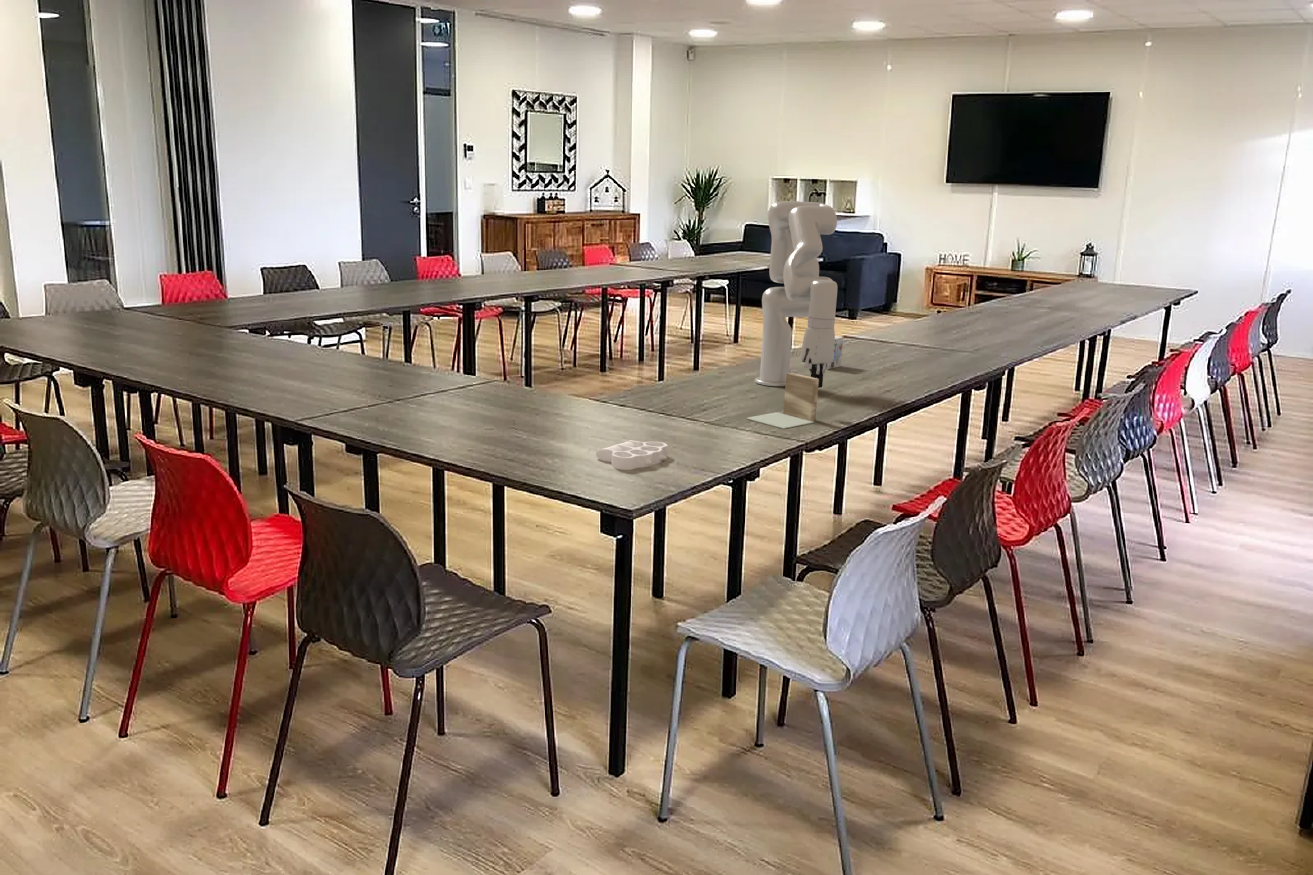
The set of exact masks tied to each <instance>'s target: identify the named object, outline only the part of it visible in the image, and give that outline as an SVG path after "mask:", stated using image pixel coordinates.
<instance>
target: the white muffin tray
mask: <svg viewBox="0 0 1313 875" xmlns="http://www.w3.org/2000/svg"><path fill="white" fill-rule="evenodd" d="M668 451H669V445H668V444H667V443H665V442H662V441H638V440H630V439H629V440H626V441H625V442H621V443H618V444H614V445H611V446H608V447H605V448H604V447H603V448H600V449H598V450H597V451H596V452H595V456H596V458H597V459H598V460H600V461H604V462H609V463H611V467H612V468H613V469H617V470H621V471H623V470H624V471H625V470H626V471H629V470H630V471H631V470H634V469H638V468H639V469H640V468H647V467H648V468H649V467H652V466H653V465H657V464H660V463H662V462H663V461H664V460H667V459H668Z"/></svg>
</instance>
